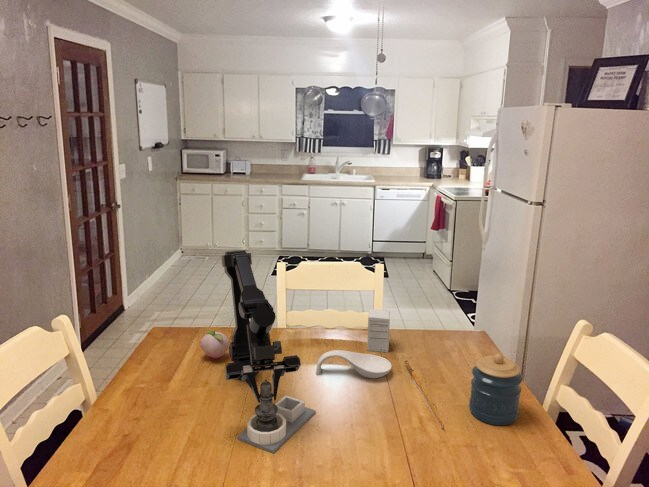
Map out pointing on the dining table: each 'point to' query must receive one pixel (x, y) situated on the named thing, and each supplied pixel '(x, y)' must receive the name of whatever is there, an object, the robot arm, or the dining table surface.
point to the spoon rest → (360, 363)
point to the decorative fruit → (214, 344)
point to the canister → (495, 390)
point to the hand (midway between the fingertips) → (267, 401)
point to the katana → (415, 379)
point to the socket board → (278, 425)
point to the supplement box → (378, 330)
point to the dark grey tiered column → (266, 407)
